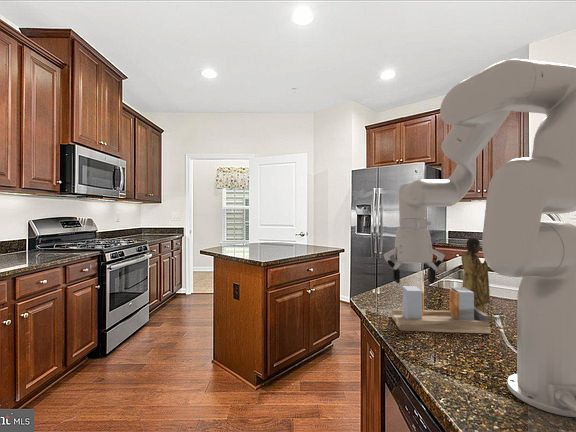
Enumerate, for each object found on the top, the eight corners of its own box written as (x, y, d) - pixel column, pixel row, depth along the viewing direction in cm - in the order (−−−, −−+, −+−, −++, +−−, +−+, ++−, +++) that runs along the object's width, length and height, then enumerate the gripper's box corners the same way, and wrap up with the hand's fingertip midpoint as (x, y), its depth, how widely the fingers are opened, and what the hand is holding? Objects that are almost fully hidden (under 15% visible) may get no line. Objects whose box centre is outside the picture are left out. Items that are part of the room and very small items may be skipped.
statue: (493, 318, 100) (493, 238, 100) (460, 313, 105) (460, 237, 105) (493, 311, 108) (493, 236, 108) (462, 307, 113) (462, 235, 113)
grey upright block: (424, 322, 93) (424, 291, 93) (407, 321, 93) (407, 290, 93) (418, 315, 99) (418, 286, 99) (402, 315, 99) (402, 286, 99)
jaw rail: (490, 333, 88) (490, 295, 88) (400, 330, 91) (400, 293, 91) (470, 319, 100) (470, 285, 100) (391, 316, 103) (391, 284, 103)
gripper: (438, 224, 99) (440, 280, 98) (380, 225, 101) (382, 280, 100) (448, 224, 91) (449, 285, 91) (385, 225, 93) (386, 284, 93)
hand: (414, 282), depth 95 cm, fingers open, 9 cm apart
